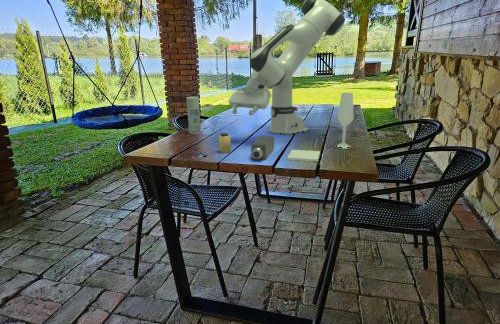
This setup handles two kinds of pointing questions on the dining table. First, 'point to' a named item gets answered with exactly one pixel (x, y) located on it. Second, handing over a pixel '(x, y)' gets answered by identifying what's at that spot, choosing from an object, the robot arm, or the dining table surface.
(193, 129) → the spray can
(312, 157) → the far side pad
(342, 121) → the champagne flute
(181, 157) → the dining table surface
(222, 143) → the yellow cylinder
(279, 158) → the dining table surface
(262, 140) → the motor housing
